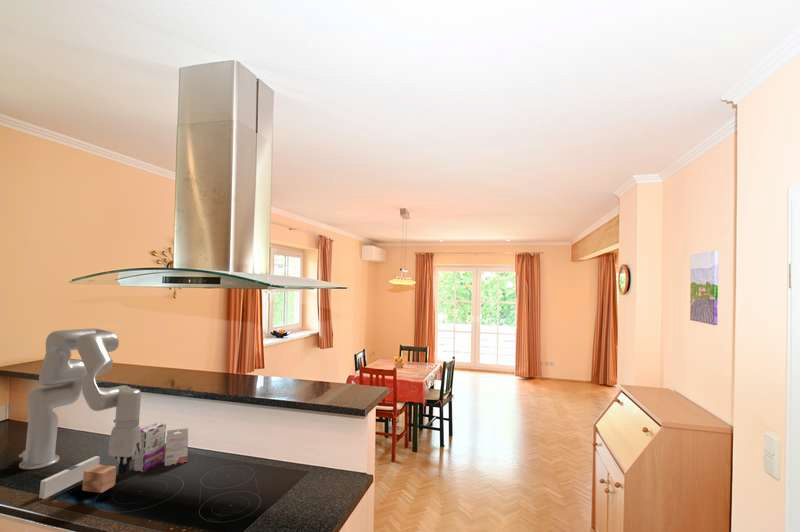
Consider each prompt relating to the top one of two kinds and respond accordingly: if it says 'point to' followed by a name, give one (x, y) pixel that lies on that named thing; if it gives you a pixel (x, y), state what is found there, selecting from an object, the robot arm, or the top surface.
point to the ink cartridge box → (176, 446)
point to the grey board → (66, 477)
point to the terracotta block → (99, 478)
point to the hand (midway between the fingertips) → (123, 473)
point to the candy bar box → (151, 447)
